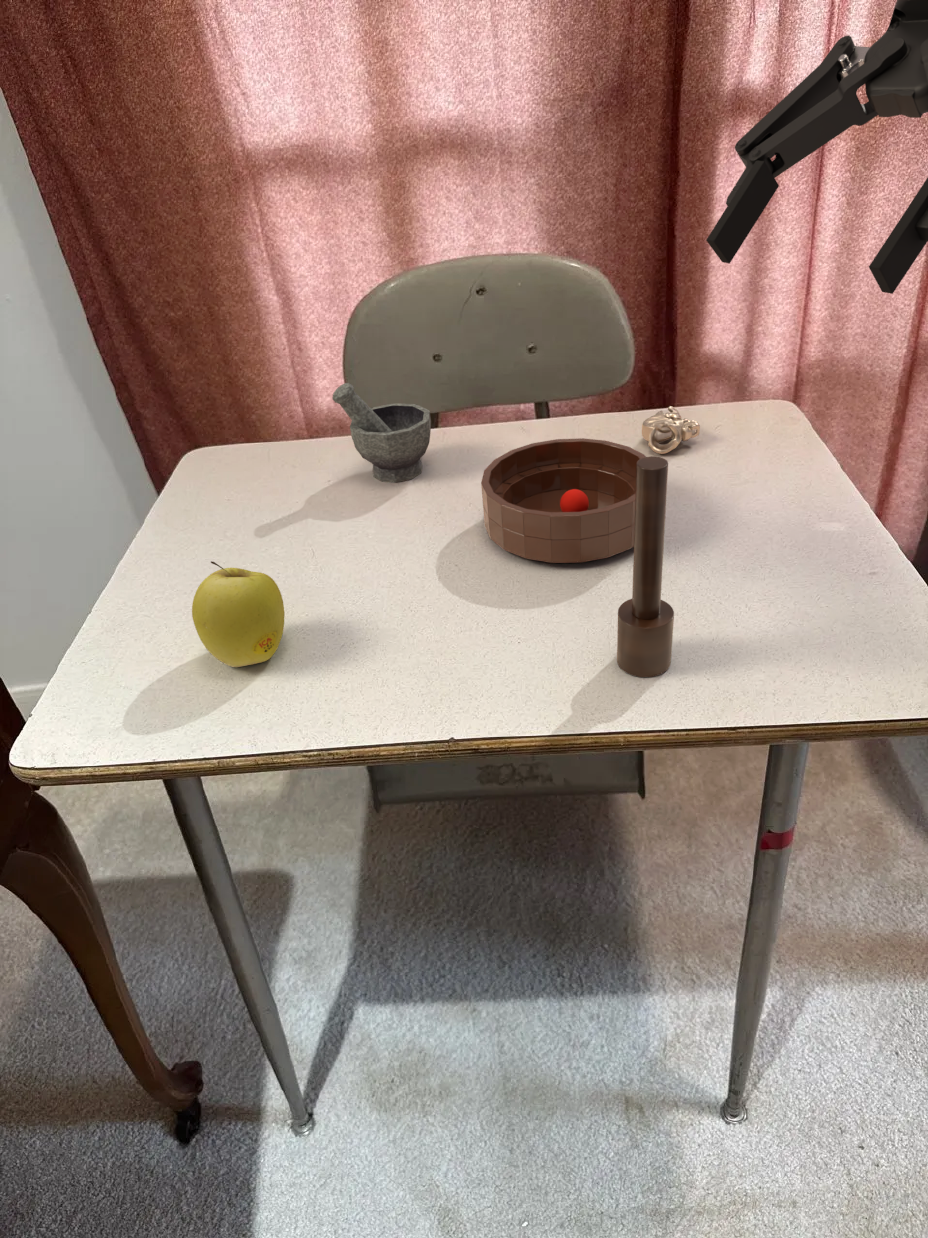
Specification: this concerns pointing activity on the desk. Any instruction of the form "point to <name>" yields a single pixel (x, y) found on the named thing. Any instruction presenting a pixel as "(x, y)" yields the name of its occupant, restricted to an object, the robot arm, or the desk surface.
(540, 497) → the bowl
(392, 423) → the mortar and pestle
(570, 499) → the red ball
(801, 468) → the desk surface
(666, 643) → the brown pestle
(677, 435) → the ornament
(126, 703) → the desk surface
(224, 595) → the apple
